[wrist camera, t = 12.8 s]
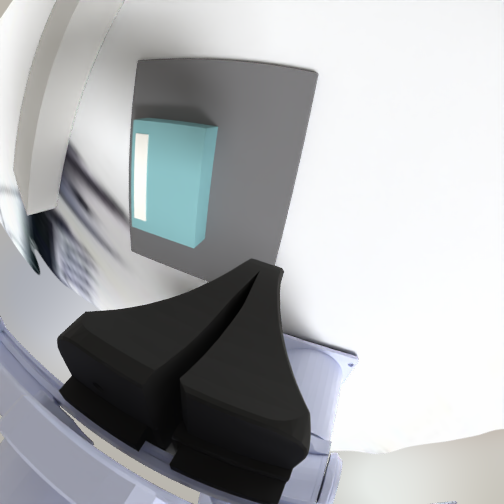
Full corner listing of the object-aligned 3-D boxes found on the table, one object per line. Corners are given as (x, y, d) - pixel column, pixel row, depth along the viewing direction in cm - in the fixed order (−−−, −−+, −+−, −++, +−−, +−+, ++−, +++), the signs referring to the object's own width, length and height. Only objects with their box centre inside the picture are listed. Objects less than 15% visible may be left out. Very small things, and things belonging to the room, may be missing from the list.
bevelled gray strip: (40, 164, 31) (59, 207, 29) (13, 169, 27) (27, 215, 25) (134, -63, 12) (179, -69, 10) (101, -73, 8) (139, -87, 6)
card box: (193, 249, 21) (131, 227, 22) (204, 238, 23) (144, 218, 24) (205, 128, 17) (132, 120, 18) (218, 126, 18) (148, 117, 19)
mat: (266, 298, 24) (264, 301, 24) (134, 249, 27) (131, 251, 27) (318, 73, 15) (317, 73, 14) (141, 60, 18) (137, 60, 17)
